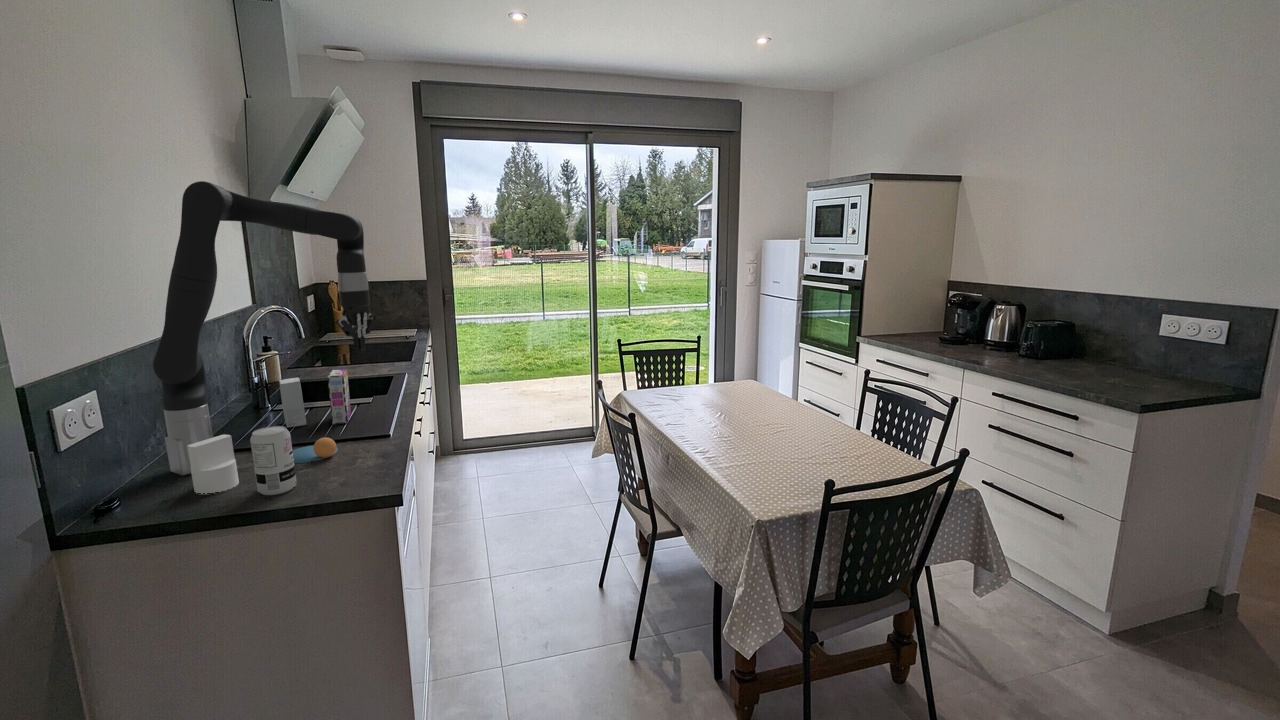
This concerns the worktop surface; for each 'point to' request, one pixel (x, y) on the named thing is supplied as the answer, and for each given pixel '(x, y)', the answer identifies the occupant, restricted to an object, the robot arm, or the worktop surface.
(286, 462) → the supplement can
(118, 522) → the worktop surface
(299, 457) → the disc
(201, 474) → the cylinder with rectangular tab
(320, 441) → the ball
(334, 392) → the candy bar box
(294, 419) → the skincare box
